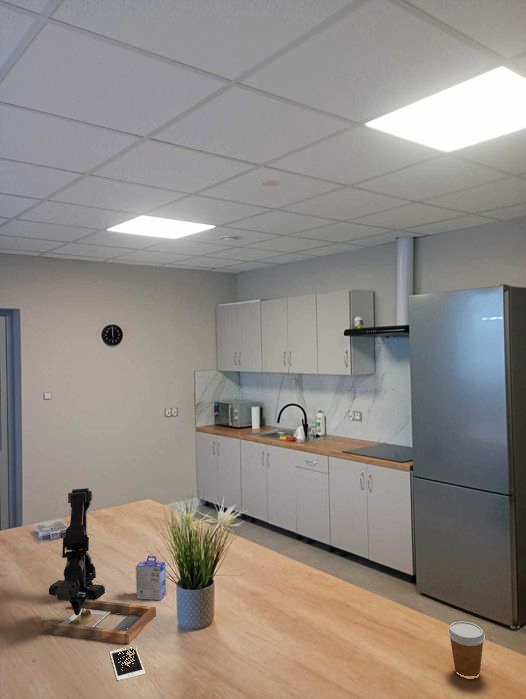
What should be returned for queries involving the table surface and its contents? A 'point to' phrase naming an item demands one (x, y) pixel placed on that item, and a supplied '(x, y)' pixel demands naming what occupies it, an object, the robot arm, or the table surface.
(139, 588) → the ink cartridge box
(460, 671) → the disposable coffee cup
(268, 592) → the table surface
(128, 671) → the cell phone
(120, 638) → the walled channel
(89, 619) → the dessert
